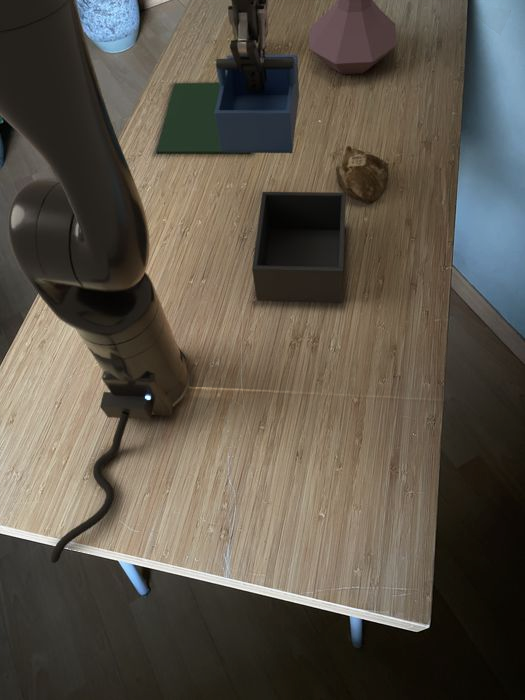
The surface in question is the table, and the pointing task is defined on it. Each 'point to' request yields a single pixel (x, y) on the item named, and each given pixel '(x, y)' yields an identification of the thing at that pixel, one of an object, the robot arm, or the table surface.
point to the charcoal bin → (300, 247)
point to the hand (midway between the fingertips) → (257, 86)
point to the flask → (352, 36)
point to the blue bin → (258, 107)
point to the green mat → (191, 121)
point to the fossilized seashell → (362, 175)
